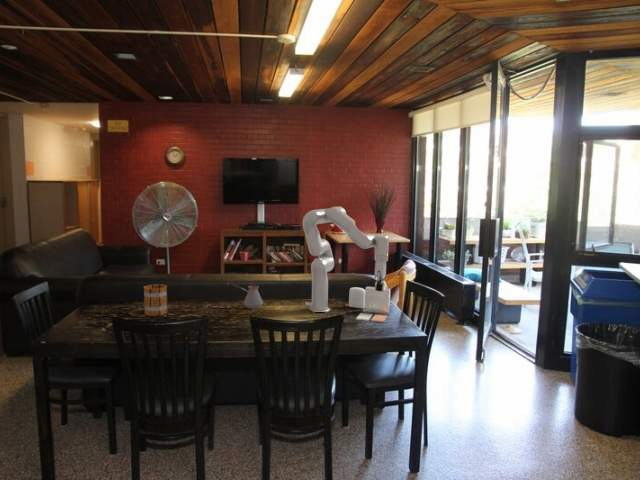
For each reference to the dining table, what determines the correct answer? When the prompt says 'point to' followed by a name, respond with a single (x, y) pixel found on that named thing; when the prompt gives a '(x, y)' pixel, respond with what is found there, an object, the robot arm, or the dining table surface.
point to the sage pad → (364, 316)
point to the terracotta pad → (379, 318)
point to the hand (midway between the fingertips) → (380, 289)
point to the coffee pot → (251, 297)
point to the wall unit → (377, 301)
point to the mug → (155, 299)
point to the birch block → (382, 285)
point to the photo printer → (357, 297)
